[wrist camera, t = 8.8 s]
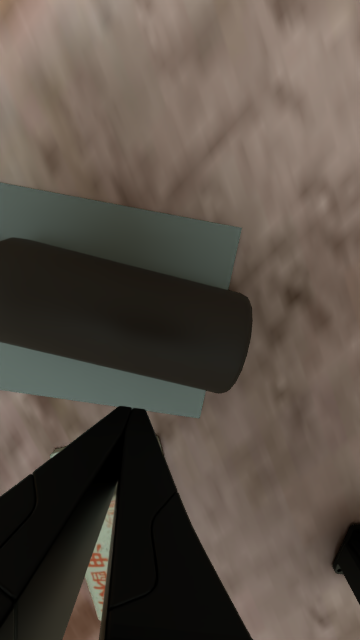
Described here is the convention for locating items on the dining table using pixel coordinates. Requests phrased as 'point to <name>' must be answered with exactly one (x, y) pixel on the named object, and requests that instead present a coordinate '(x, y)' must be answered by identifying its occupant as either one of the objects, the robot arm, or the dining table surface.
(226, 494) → the dining table surface
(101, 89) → the dining table surface
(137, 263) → the mat
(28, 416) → the dining table surface
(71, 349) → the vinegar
